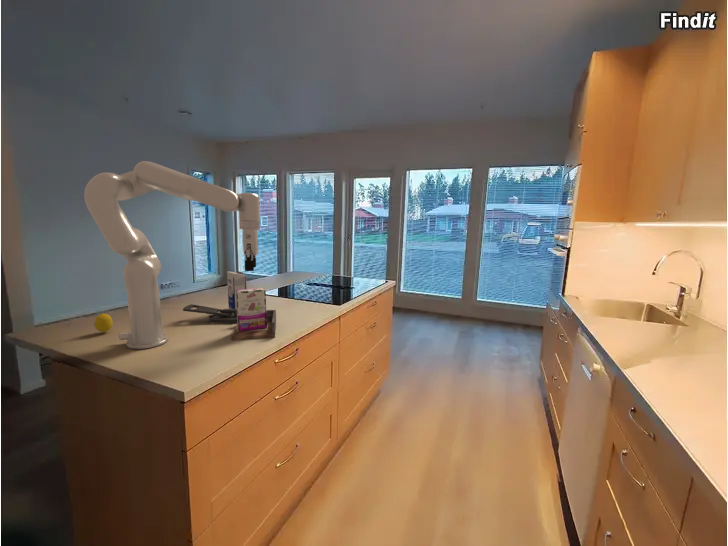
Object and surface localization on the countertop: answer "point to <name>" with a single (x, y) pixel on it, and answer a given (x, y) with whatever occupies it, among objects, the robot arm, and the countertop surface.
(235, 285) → the milk carton
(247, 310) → the candy bar box
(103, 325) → the lemon
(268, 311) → the brown square tray
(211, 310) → the dark grey spatula
